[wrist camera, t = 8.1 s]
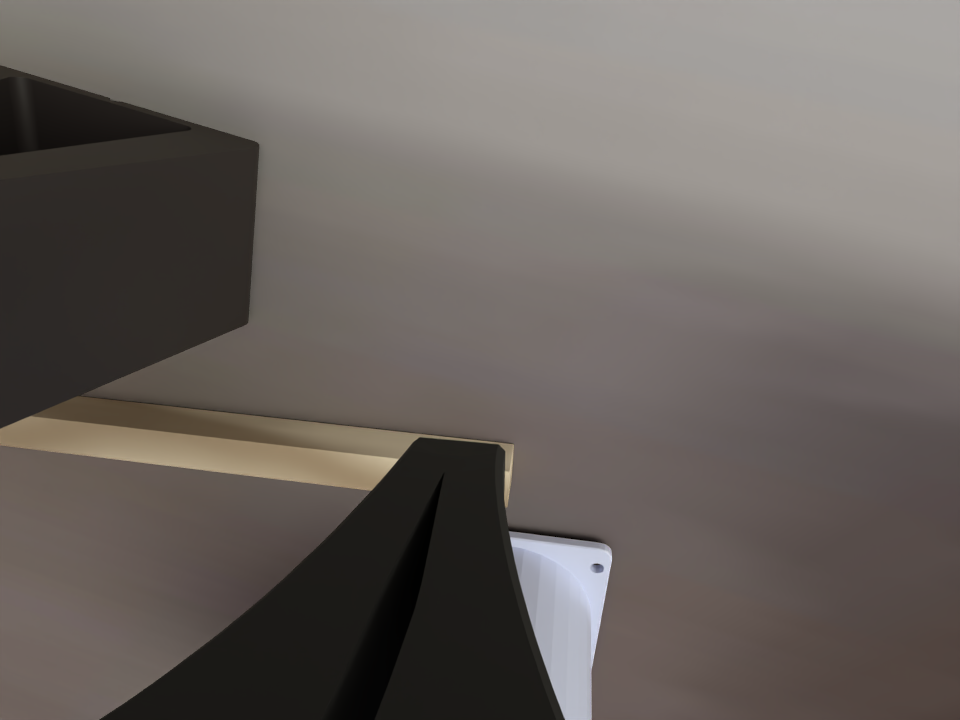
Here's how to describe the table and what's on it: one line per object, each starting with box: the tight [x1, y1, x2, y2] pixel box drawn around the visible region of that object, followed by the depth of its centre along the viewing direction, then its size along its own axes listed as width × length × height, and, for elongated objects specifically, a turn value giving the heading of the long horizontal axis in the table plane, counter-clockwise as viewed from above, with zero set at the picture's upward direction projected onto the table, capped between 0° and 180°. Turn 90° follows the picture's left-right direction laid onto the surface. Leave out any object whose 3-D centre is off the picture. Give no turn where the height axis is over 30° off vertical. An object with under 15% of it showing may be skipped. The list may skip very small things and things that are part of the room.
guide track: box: [0, 396, 514, 507], centre depth 18 cm, size 19×22×4 cm
